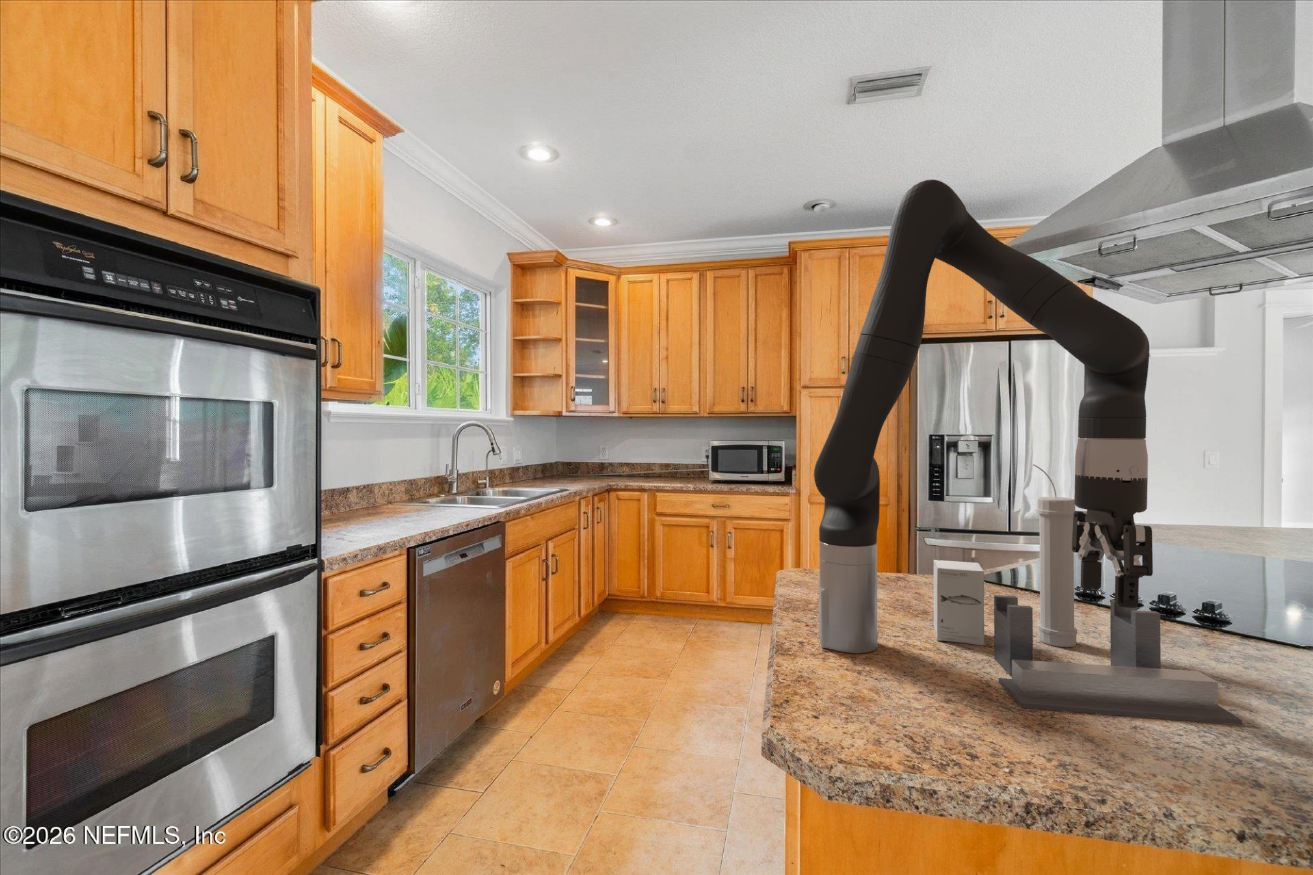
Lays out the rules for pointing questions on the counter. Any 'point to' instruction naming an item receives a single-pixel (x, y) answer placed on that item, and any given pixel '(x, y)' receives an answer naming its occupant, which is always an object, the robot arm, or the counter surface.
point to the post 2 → (1134, 637)
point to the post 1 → (1012, 631)
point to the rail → (1115, 684)
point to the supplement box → (959, 602)
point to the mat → (1120, 708)
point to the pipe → (1056, 571)
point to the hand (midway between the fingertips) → (1107, 596)
